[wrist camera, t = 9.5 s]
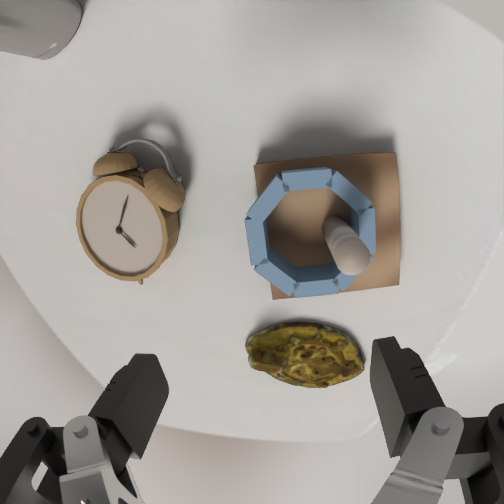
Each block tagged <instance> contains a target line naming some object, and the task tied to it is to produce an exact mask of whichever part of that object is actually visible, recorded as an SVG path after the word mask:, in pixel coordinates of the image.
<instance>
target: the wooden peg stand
mask: <svg viewBox="0 0 504 504" xmlns="http://www.w3.org/2000/svg"><path fill="white" fill-rule="evenodd" d="M318 167H327V168H330V169H333V170H336V171H338V172H339V173H340V174H341V175H342V176H343V177H345V178H346V179H347V180H348V181H349V182H350V183H351V184H352V185H354V186H355V187H356V188H357V189H358V190H359V191H360V192H361V193H362V194H364V195H365V196H366V197H367V198H368V199H369V200H370V201H371V202H372V204H371V206H372V207H374V208H375V228H376V253H375V254H371V256H372V257H373V258H374V259H373V260H372V261H371V262H370V252H369V249H368V248H367V246H366V245H365V244H364V243H363V241H362V240H361V239H360V238H359V237H358V235H357V234H356V233H355V232H354V231H353V229H352V228H351V225H350V207H349V205H348V204H347V203H346V202H345V201H344V200H342V199H341V198H340V197H339V196H338V195H337V194H335V193H334V192H333V191H332V190H331V189H330V188H316V189H305V190H295V191H288V192H287V193H286V194H285V196H284V197H283V198H282V199H281V201H280V202H279V203H278V204H277V205H276V207H275V208H274V209H273V210H272V212H271V213H270V214H269V215H268V217H267V218H266V221H267V229H268V237H269V245H270V248H272V249H273V250H274V251H276V252H277V253H278V254H279V255H281V256H282V257H283V258H285V259H286V260H287V261H289V262H290V263H291V264H292V265H294V266H295V267H304V266H315V265H325V264H330V262H331V261H332V260H333V259H334V260H335V263H336V265H337V267H338V269H339V270H340V271H341V272H342V273H344V274H346V275H357V274H359V275H358V276H357V277H356V279H355V280H354V281H353V282H352V283H351V284H350V285H349V286H348V287H347V288H346V289H345V290H344V291H343V290H341V289H340V288H339V287H338V289H339V293H341V292H349V291H357V290H365V289H373V288H380V287H388V286H395V285H399V277H400V201H399V183H398V169H397V158H396V153H394V152H385V153H366V154H350V155H337V156H325V157H314V158H304V159H295V160H286V161H278V162H270V163H263V164H256V165H254V171H255V178H256V185H257V191H258V197H259V196H260V195H261V193H262V192H263V191H264V190H265V188H266V187H267V186H268V185H269V183H270V182H271V181H272V180H273V178H274V177H275V176H276V175H277V174H279V175H280V176H281V177H282V171H287V170H296V169H307V168H318ZM369 262H370V263H369ZM270 283H271V282H270ZM271 291H272V298H273V300H274V299H285V298H295V296H294V292H293V293H292V294H291V295H290V296H288V295H287V294H285V293H284V292H283V291H281V290H280V289H279V288H277V287H276V286H275V285H273V284H272V283H271Z"/></svg>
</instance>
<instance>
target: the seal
mask: <svg viewBox="0 0 504 504" xmlns="http://www.w3.org/2000/svg"><path fill="white" fill-rule="evenodd" d="M245 347H246V351H247V353H248V354H249V356H248V362H249V364H250V366H251V368H253V369H256V370H258V371H265V372H266V373H268V374H269V375H271V376H272V377H274V378H276V379H278V380H280V381H283V382H286V383H289V384H292V385H295V386H304V387H308V388H321V387H322V388H327V387H328V386H332V385H335V384H338V383H341V382H344V381H348V380H351V379H353V378H354V377H356V376H358V375H359V374H360V373H362V372H363V371H364V363H363V360H362V356H361V353H360V350H359V348H358V346H357V345H356V343H355V342H354V341H353V340H352V339H351V338H350V337H349V336H348V335H347V334H346V333H344V332H342V331H340V330H337V329H334V328H332V327H329V326H325V325H322V324H316V323H313V324H312V323H300V322H295V323H282V324H278V325H274V326H271V327H268V328H266V329H264V330H261V331H259V332H257V333H256V334H254V335H253V336H251V337H250V338H248V339H247V341H246V345H245Z"/></svg>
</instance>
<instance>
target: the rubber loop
mask: <svg viewBox="0 0 504 504" xmlns="http://www.w3.org/2000/svg"><path fill="white" fill-rule="evenodd" d="M316 188H330V189H331V190H332V191H333V192H334V193H335V194H337V195H338V196H339V197H340V198H341V199H342V200H344V201H345V202H346V203H347V204H348V205H349V207H350V225H351V228H352V229H353V231H354V232H355V233H356V234H357V235H358V237H359V238H360V239H361V240H362V241H363V243H364V244H365V245H366V246H367V248H368V249H369V252H370V262H371V261H372V260H373V259H374V258H373V257H372V256H371V254H375V253H376V228H375V208H374V207H372V206H371V204H372V202H371V201H370V200H369V199H368V198H367V197H366V196H365V195H364V194H362V193H361V192H360V191H359V190H358V189H357V188H356V187H355V186H354V185H352V184H351V183H350V182H349V181H348V180H347V179H346V178H345V177H343V176H342V175H341V174H340V173H339V172H338V171H336V170H333V169H330V168H327V167H318V168H307V169H296V170H287V171H282V177H281V176H280V175H279V174H277V175H276V176H275V177H274V178H273V180H272V181H271V182H270V183H269V185H268V186H267V187H266V188H265V190H264V191H263V192H262V193H261V195H260V196H259V197H258V198H257V200H256V201H255V202H254V204H253V205H252V206H251V208H250V209H249V211H248V212H247V214H246V215H247V217H246V219H245V226H246V233H247V240H248V247H249V254H250V261H251V265H255V268H254V270H255V271H256V272H257V273H259V274H260V275H261V276H263V277H264V278H265V279H267V280H268V281H269V282H271V283H272V284H273V285H275V286H276V287H277V288H279V289H280V290H281V291H283V292H284V293H285V294H287V295H288V296H290V295H291V294H292V293H293V292H294V296H295V298H299V297H310V296H320V295H330V294H339V289H338V287H339V288H340V289H341V290H343V291H344V290H345V289H346V288H347V287H348V286H349V285H350V284H351V283H352V282H353V281H354V280H355V279H356V277H357V276H358V275H359V274H357V275H346V274H344V273H342V272H341V271H340V270H339V269H338V267H337V265H336V263H335V260H334V259H333V260H332V261H331V262H330V264H325V265H315V266H304V267H295V266H294V265H292V264H291V263H290V262H289V261H287V260H286V259H285V258H283V257H282V256H281V255H279V254H278V253H277V252H276V251H274V250H273V249H272V248H270V245H269V237H268V229H267V221H266V218H267V217H268V215H269V214H270V213H271V212H272V210H273V209H274V208H275V207H276V205H277V204H278V203H279V202H280V201H281V199H282V198H283V197H284V196H285V194H286V193H287V192H288V191H295V190H305V189H316ZM370 262H369V263H370Z"/></svg>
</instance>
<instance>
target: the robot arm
mask: <svg viewBox="0 0 504 504" xmlns="http://www.w3.org/2000/svg"><path fill="white" fill-rule="evenodd" d="M81 15H82V9H81V5H80V4H79V2H77V1H76V0H0V51H3V52H8V53H13V54H18V55H23V56H28V57H32V58H37V59H43V60H45V59H49V58H51V57H53V56H55V55H56V54H57V53H59V52H60V51H61V50H62V49H63V48H64V47H65V46H66V45H67V44H68V42H69V41H70V40H71V38H72V37H73V35H74V34H75V32H76V30H77V28H78V26H79V23H80V20H81ZM370 383H371V388H372V392H373V395H374V399H375V402H376V406H377V409H378V413H379V416H380V420H381V423H382V427H383V431H384V435H385V439H386V443H387V447H388V450H389V455H390V458H392V457H395V456H400V458H401V459H400V460H399V462H398V464H397V466H396V468H395V469H394V471H393V472H392V473H391V474H390V476H389V477H388V479H387V480H386V482H385V483H384V485H383V486H382V488H381V490H380V491H379V493H378V494H377V496H376V497H375V499H374V500H373V502H372V503H371V504H437V503H438V501H439V498H440V496H441V494H442V491H443V487H442V485H443V482H444V480H445V479H460V483H461V487H462V491H463V495H464V499H465V504H504V403H503V404H499V405H497V406H495V407H494V408H493V409H492V410H491V412H490V413H489V415H488V416H487V417H475V418H464V417H461V415H460V414H459V413H458V412H457V411H455V410H454V409H451V408H448V407H446V406H445V405H444V403H443V400H442V398H441V396H440V394H439V392H438V391H437V389H436V386H435V385H434V382H433V381H432V379H431V377H430V376H429V373H428V371H427V369H426V367H424V363H423V362H422V360H421V358H420V356H419V355H418V354H417V353H415V352H414V351H413V350H412V349H410V348H404V349H401V348H400V346H399V344H398V342H397V340H396V338H395V337H394V336H392V337H387V338H381V339H375V340H374V341H373V345H372V356H371V366H370ZM168 394H169V387H168V382H167V380H166V378H165V375H164V373H163V370H162V368H161V366H160V363H159V361H158V358H157V356H156V355H155V354H135V355H134V356H133V358H132V359H131V361H130V362H129V364H128V365H125V366H124V367H123V368H121V369H120V370H119V371H118V372H116V373H115V375H114V376H113V378H112V379H111V381H110V384H108V385H107V387H106V388H105V391H103V393H102V394H101V396H100V397H99V399H98V400H97V402H96V403H95V405H94V406H93V408H92V410H91V411H90V413H89V414H88V416H78V417H75V418H74V419H72V420H70V421H69V422H68V423H67V424H66V426H65V427H50V426H49V425H48V423H47V422H46V420H45V419H43V418H41V417H33V418H31V419H29V420H27V421H26V422H25V423H24V424H23V425H22V426H21V428H20V429H19V431H18V432H17V434H16V435H15V437H14V438H13V440H12V441H11V443H10V444H9V446H8V447H7V449H6V450H5V452H4V453H3V455H2V456H1V458H0V504H144V502H143V500H142V498H141V495H140V493H139V490H138V488H137V485H136V483H135V480H134V478H133V475H132V472H131V469H130V467H129V465H128V464H127V461H128V459H129V457H130V458H135V459H141V458H142V456H143V453H144V451H145V449H146V446H147V444H148V442H149V439H150V437H151V434H152V432H153V429H154V428H155V425H156V423H157V421H158V419H159V416H160V414H161V412H162V409H163V407H164V405H165V403H166V400H167V398H168ZM41 461H42V462H43V463H44V464H45V465H46V466H47V467H48V470H47V472H46V474H45V475H44V477H43V480H42V481H41V483H40V485H39V487H38V489H37V491H35V490H34V489H33V487H32V484H31V480H32V477H33V475H34V474H35V472H36V470H37V468H38V466H39V465H40V463H41Z"/></svg>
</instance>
